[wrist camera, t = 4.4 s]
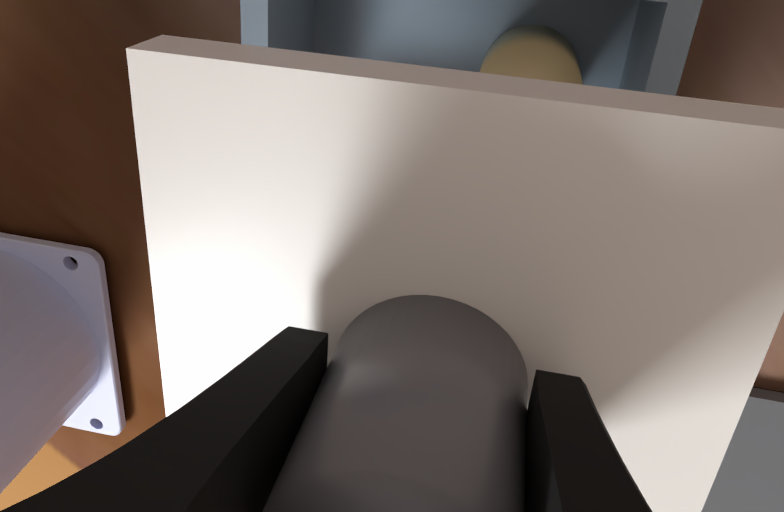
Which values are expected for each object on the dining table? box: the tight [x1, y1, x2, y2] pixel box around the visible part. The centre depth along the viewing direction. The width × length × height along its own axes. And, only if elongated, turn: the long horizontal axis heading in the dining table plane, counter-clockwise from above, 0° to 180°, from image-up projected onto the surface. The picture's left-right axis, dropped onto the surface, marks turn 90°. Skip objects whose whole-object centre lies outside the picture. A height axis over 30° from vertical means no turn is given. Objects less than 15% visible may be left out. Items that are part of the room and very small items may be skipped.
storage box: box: [240, 0, 703, 96], centre depth 17 cm, size 9×9×4 cm
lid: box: [126, 35, 784, 512], centre depth 10 cm, size 9×9×5 cm
